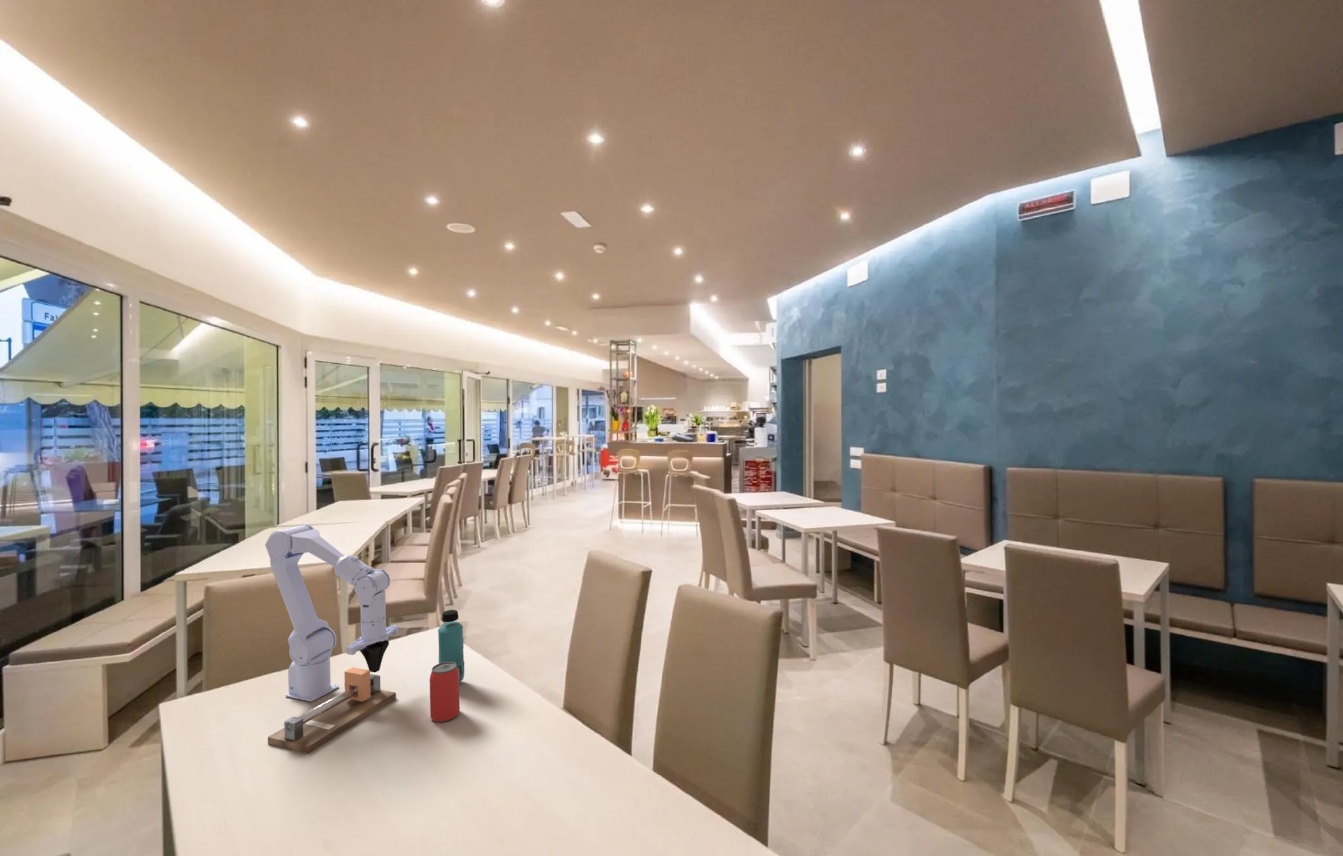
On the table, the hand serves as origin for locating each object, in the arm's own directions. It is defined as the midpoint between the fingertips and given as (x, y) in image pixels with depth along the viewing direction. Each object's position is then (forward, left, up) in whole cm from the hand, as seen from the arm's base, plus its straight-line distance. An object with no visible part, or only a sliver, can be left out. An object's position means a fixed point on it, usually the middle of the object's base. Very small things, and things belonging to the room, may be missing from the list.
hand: (374, 670), depth 141 cm
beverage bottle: (+15, +11, -7) cm, 20 cm away
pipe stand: (0, -11, -5) cm, 12 cm away
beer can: (+24, -2, -7) cm, 25 cm away
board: (0, -11, -7) cm, 13 cm away
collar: (0, -5, -4) cm, 7 cm away
